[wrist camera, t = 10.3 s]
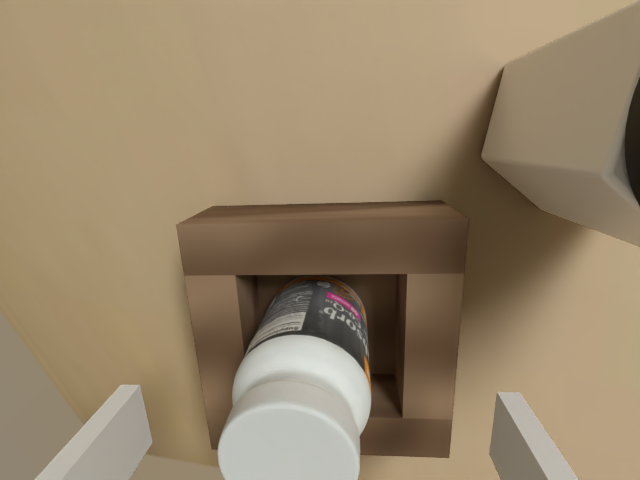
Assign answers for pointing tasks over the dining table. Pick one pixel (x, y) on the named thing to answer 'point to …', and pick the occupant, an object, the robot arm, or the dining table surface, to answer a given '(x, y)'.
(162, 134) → the dining table surface
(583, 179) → the jar
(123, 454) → the robot arm
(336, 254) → the socket block
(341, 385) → the pill bottle
